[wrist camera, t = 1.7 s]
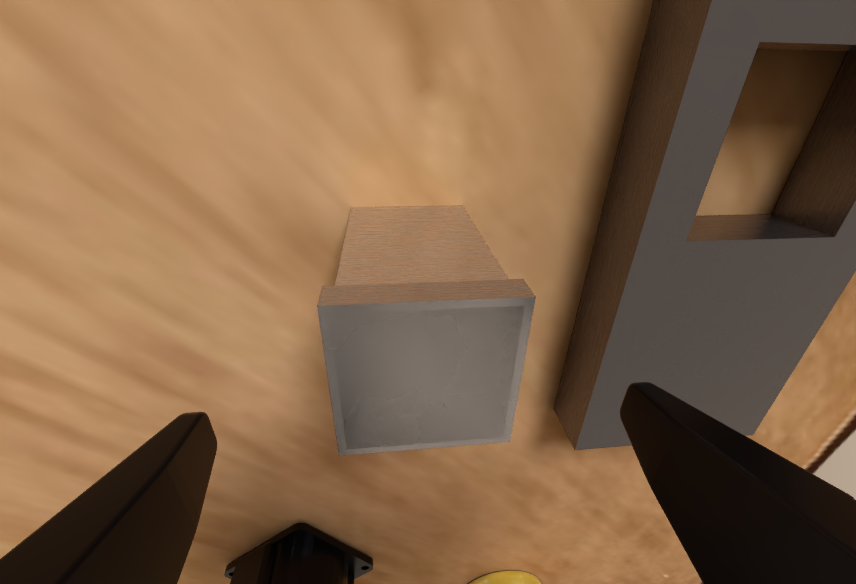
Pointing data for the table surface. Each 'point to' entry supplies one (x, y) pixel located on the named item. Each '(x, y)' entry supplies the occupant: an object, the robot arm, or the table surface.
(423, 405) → the grey-capped square peg
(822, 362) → the table surface
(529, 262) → the table surface
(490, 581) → the plant pot
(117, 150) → the table surface
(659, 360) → the rack rail
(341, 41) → the table surface
